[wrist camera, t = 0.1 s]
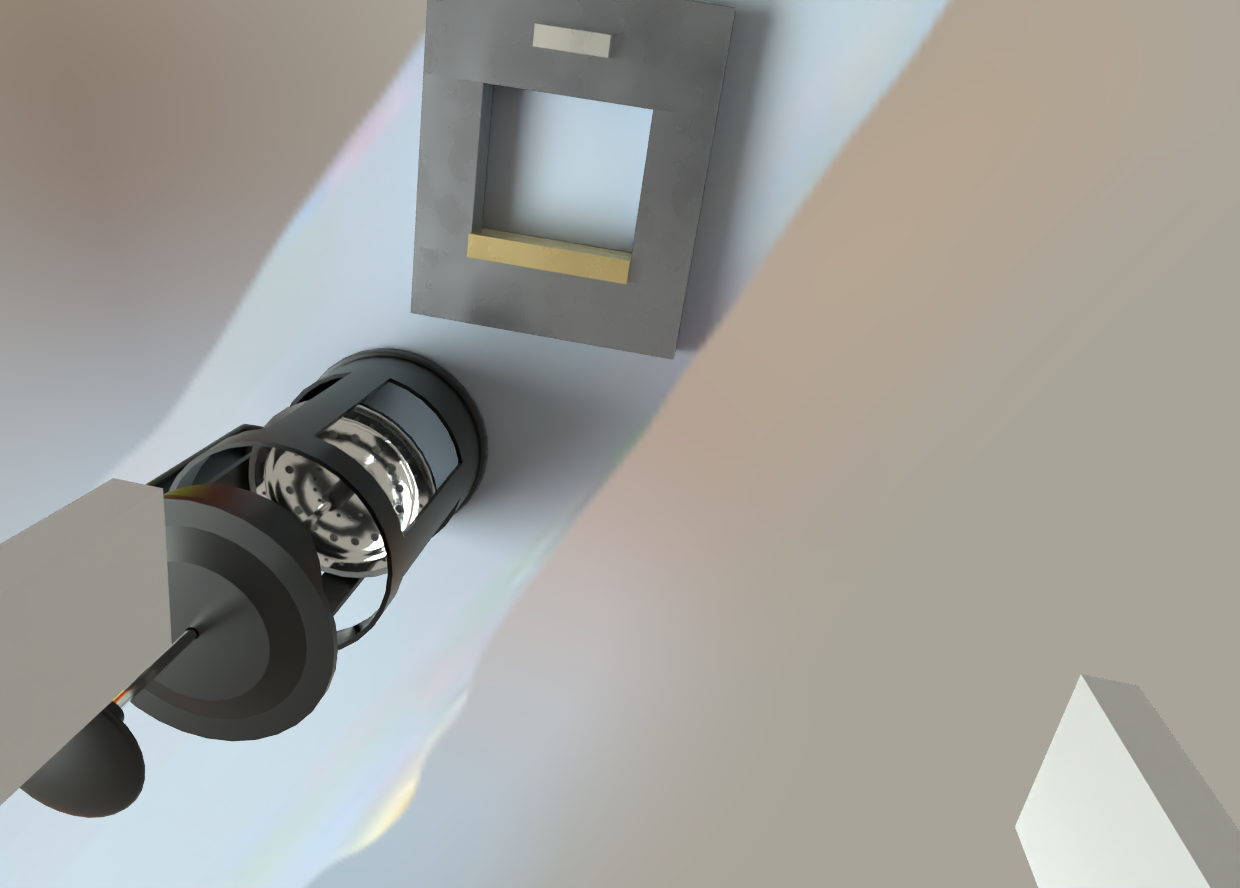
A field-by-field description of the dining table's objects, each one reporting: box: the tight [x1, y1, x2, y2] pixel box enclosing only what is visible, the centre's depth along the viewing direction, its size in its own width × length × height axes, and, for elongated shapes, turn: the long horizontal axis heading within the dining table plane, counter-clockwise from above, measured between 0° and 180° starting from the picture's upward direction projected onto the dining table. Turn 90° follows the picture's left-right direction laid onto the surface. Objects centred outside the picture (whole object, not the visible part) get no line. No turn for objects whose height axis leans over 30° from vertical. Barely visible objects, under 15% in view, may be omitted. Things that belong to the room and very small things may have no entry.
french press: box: [20, 349, 487, 818], centre depth 32 cm, size 12×9×23 cm
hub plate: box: [411, 0, 735, 359], centre depth 36 cm, size 14×12×2 cm
